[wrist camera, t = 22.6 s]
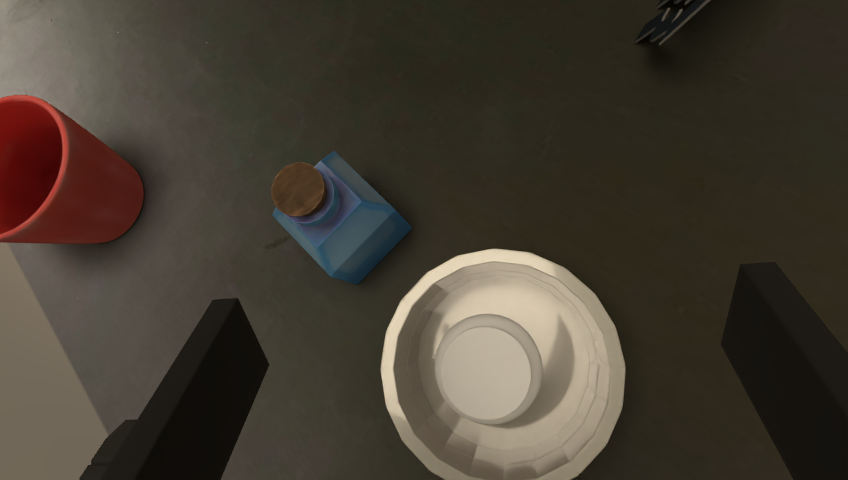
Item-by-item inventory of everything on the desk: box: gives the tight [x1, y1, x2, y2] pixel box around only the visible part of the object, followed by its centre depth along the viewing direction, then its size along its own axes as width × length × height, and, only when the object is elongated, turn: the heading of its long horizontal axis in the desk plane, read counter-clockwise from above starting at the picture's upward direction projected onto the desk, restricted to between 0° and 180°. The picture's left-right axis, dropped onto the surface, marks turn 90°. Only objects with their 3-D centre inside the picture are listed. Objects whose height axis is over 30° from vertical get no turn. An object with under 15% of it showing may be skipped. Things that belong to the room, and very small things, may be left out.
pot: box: [380, 248, 626, 480], centre depth 33 cm, size 14×14×8 cm
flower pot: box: [0, 95, 144, 244], centre depth 40 cm, size 11×11×10 cm
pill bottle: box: [435, 314, 543, 425], centre depth 31 cm, size 6×6×11 cm
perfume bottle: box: [272, 151, 412, 285], centre depth 35 cm, size 6×6×12 cm
